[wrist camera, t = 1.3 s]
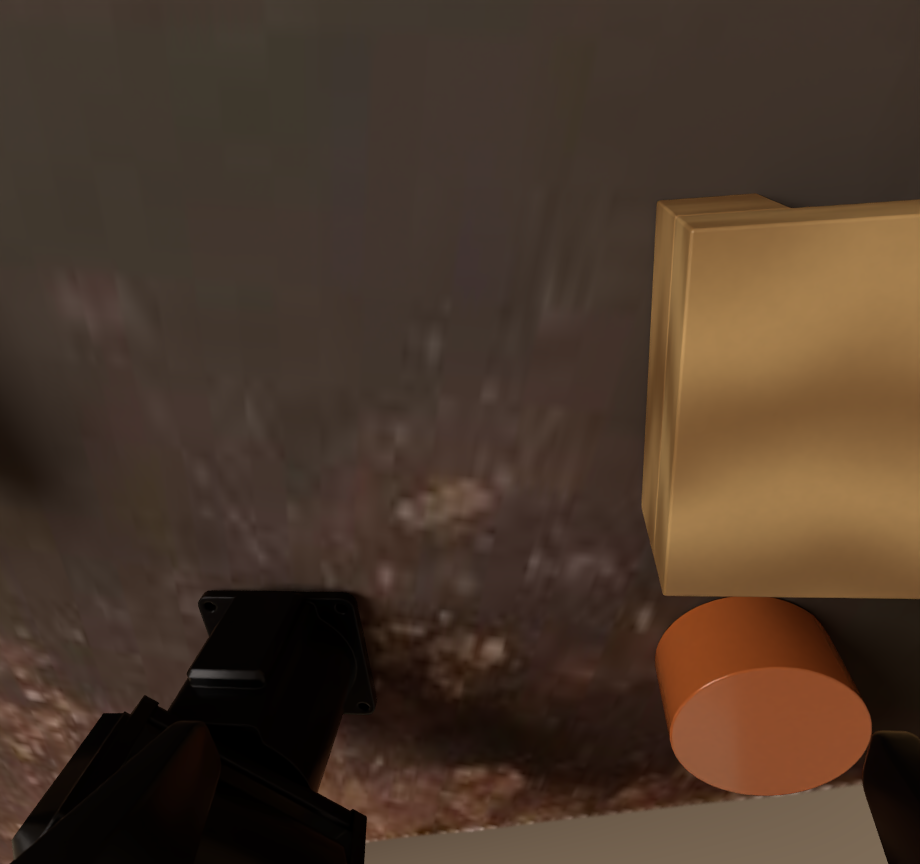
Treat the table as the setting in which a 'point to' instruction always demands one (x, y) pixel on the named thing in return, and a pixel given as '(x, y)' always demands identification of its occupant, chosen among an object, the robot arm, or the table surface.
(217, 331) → the table surface
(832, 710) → the orange cylinder puck
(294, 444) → the table surface
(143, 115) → the table surface
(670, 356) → the maple stand
